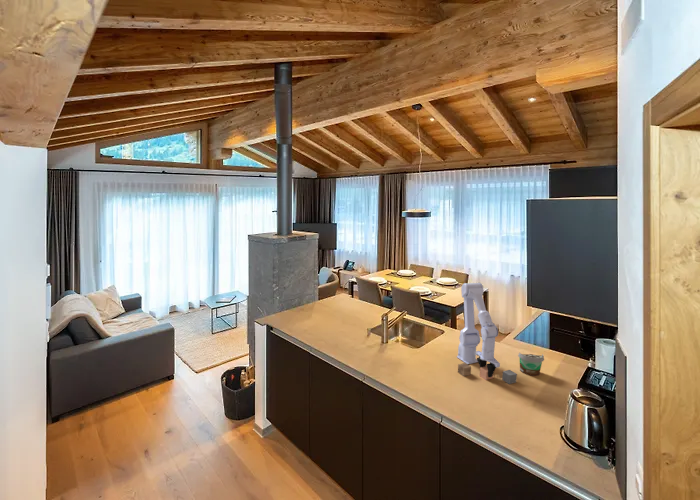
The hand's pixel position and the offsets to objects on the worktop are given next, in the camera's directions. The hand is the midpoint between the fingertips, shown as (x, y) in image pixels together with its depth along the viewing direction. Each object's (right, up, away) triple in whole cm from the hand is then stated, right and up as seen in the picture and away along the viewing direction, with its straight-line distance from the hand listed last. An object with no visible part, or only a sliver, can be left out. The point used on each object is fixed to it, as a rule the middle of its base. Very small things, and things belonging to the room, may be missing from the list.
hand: (486, 374), depth 178 cm
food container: (+25, -1, +4) cm, 25 cm away
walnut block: (-10, -1, +4) cm, 11 cm away
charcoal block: (+10, -2, -3) cm, 11 cm away
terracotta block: (0, -2, 0) cm, 2 cm away
